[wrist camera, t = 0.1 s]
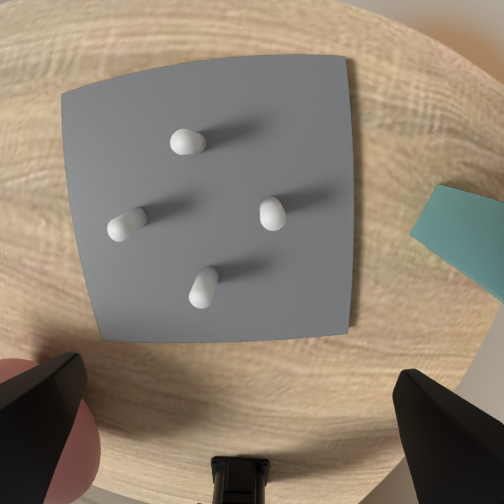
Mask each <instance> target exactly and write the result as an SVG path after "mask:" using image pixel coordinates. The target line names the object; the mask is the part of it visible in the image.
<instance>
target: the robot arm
mask: <svg viewBox="0 0 504 504" xmlns="http://www.w3.org/2000/svg"><path fill="white" fill-rule="evenodd" d="M86 384H87V373H86V370H85V367H84V363H83V360H82V357H81V355H80V354H79V353H76V352H71V351H66V352H64V353H62V354H60V355H58V356H56V357H54V358H51V359H49V360H47V361H45V362H43V363H41V364H39V365H37V366H35V367H33V368H31V369H29V370H27V371H25V372H23V373H20V374H18V375H16V376H14V377H12V378H10V379H8V380H6V381H4V382H2V383H0V504H43V503H44V500H45V497H46V494H47V492H48V489H49V486H50V483H51V480H52V478H53V475H54V472H55V470H56V467H57V464H58V462H59V459H60V457H61V454H62V452H63V449H64V447H65V444H66V442H67V439H68V437H69V434H70V432H71V430H72V427H73V425H74V422H75V419H76V416H77V412H78V409H79V406H80V403H81V399H82V396H83V393H84V390H85V387H86ZM392 397H393V403H394V408H395V412H396V417H397V422H398V428H399V433H400V438H401V442H402V446H403V449H404V452H405V456H406V459H407V462H408V466H409V469H410V473H411V476H412V480H413V484H414V487H415V490H416V495H417V499H418V502H419V504H504V425H503V423H502V422H500V421H498V420H497V419H495V418H493V417H492V416H490V415H489V414H487V413H485V412H484V411H482V410H481V409H479V408H477V407H476V406H474V405H473V404H471V403H469V402H468V401H466V400H464V399H463V398H461V397H460V396H458V395H457V394H455V393H453V392H452V391H450V390H449V389H447V388H445V387H444V386H442V385H441V384H439V383H437V382H436V381H434V380H433V379H431V378H429V377H428V376H426V375H425V374H423V373H422V372H420V371H418V370H417V369H404V370H402V371H401V372H400V374H399V377H398V380H397V382H396V385H395V387H394V390H393V395H392ZM211 466H212V475H213V483H214V493H213V501H212V504H265V487H266V484H267V478H268V472H269V466H270V461H269V460H262V459H233V458H218V457H213V458H212V459H211ZM198 504H200V503H198Z"/></svg>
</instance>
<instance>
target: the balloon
mask: <svg viewBox="0 0 504 504" xmlns="http://www.w3.org/2000/svg"><path fill="white" fill-rule="evenodd" d="M37 365H39V363H36V362H33V361H29V360H24V359H13V358H12V359H1V360H0V383H2V382H4V381H6V380H8V379H10V378H12V377H14V376H16V375H18V374H20V373H23V372H25V371H27V370H29V369H31V368H33V367H35V366H37ZM100 455H101V447H100V438H99V433H98V429H97V426H96V423H95V420H94V418H93V415H92V413H91V411H90V409H89V408H88V406H87V404H86V403H85V401H84V400H83V398H82V399H81V403H80V406H79V409H78V412H77V416H76V419H75V422H74V425H73V427H72V430H71V432H70V434H69V437H68V439H67V442H66V444H65V447H64V449H63V452H62V454H61V457H60V459H59V462H58V464H57V467H56V470H55V472H54V475H53V478H52V480H51V483H50V486H49V489H48V492H47V494H46V497H45V500H44V503H43V504H69V503H72V502H74V501H75V500H77V499H78V498H80V497H81V496H82V495H83V494H84V493H85V492H86V491H87V490H88V489H89V487H90V486H91V484H92V483H93V481H94V479H95V477H96V474H97V472H98V468H99V464H100Z"/></svg>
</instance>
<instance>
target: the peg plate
mask: <svg viewBox="0 0 504 504" xmlns="http://www.w3.org/2000/svg"><path fill="white" fill-rule="evenodd" d="M61 114H62V135H63V150H64V161H65V171H66V180H67V188H68V195H69V202H70V208H71V215H72V221H73V226H74V232H75V237H76V242H77V247H78V252H79V256H80V261H81V265H82V270H83V274H84V278H85V282H86V286H87V290H88V293H89V297H90V301H91V304H92V308H93V311H94V315H95V318H96V321H97V325H98V328H99V331H100V334H101V337H102V340H103V341H115V342H143V343H220V342H248V341H268V340H284V339H298V338H310V337H321V336H331V335H341V334H348V329H349V317H350V305H351V290H352V272H353V247H354V166H353V141H352V124H351V110H350V97H349V86H348V76H347V67H346V59H345V56H332V55H261V56H244V57H232V58H222V59H213V60H204V61H197V62H190V63H183V64H177V65H171V66H166V67H160V68H155V69H150V70H145V71H141V72H136V73H132V74H128V75H124V76H120V77H116V78H112V79H108V80H105V81H101V82H97V83H94V84H91V85H87V86H84V87H81V88H78V89H75V90H72V91H69V92H66V93H63V94H61Z"/></svg>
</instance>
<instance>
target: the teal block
mask: <svg viewBox="0 0 504 504" xmlns="http://www.w3.org/2000/svg"><path fill="white" fill-rule="evenodd" d="M410 235H411V236H412V237H414V238H415V239H417V240H418V241H419V242H421V243H422V244H423V245H425V246H426V247H427V248H429V249H430V250H431V251H433V252H434V253H435V254H437V255H438V256H439V257H440V258H442V259H443V260H444V261H446V262H447V263H448V264H450V265H451V266H453V267H454V268H456V269H457V270H459V271H460V272H461V273H463V274H464V275H466V276H467V277H468V278H470V279H471V280H473V281H474V282H475V283H477V284H478V285H479V286H481V287H482V288H483V289H485V290H486V291H488V292H489V293H490V294H492V295H493V296H494V297H495V298H497V299H498V300H499V301H501V302H502V303H503V304H504V203H503V202H500V201H497V200H494V199H490V198H487V197H484V196H480V195H477V194H473V193H470V192H466V191H462V190H459V189H455V188H451V187H447V186H443V185H439V184H438V185H437V187H436V189H435V191H434V192H433V194H432V196H431V198H430V200H429V201H428V203H427V205H426V207H425V209H424V210H423V212H422V214H421V216H420V217H419V219H418V221H417V223H416V224H415V226H414V228H413V229H412V231H411V233H410Z"/></svg>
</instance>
